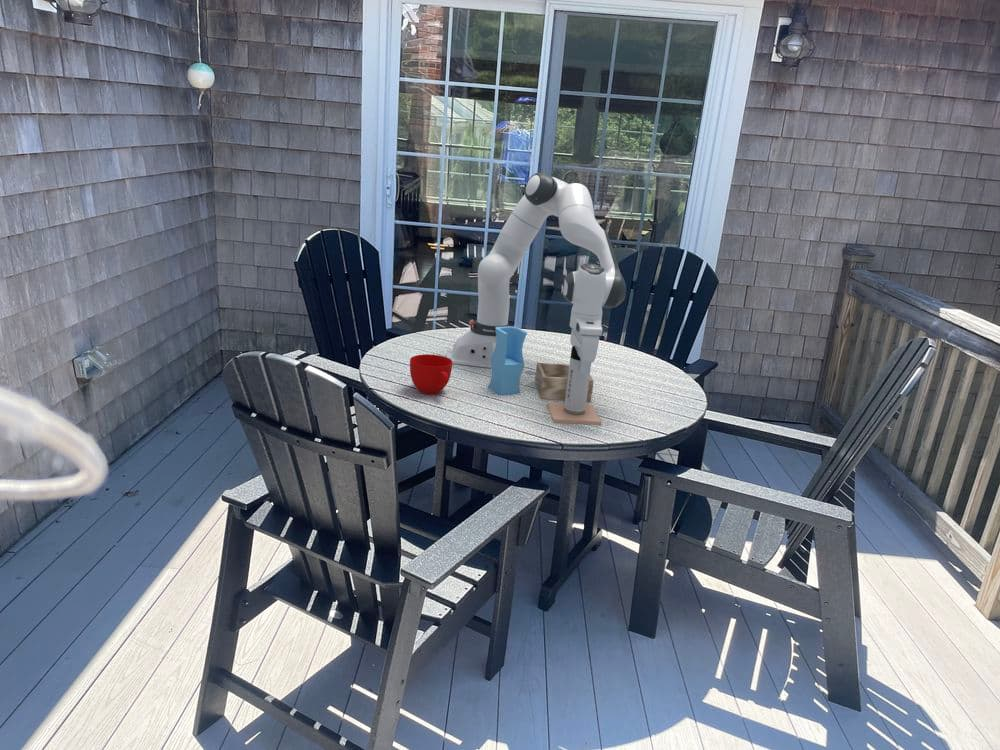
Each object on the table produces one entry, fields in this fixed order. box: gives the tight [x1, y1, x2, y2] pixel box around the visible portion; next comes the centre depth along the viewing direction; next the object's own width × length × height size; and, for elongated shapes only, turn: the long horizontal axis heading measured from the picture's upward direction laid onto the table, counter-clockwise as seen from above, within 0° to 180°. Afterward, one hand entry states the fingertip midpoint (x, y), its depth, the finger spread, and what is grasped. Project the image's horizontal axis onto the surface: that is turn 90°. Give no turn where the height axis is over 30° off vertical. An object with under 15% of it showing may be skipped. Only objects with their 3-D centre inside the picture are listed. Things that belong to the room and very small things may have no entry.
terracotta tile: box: [546, 402, 603, 426], centre depth 215 cm, size 14×14×1 cm
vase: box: [487, 325, 528, 396], centre depth 229 cm, size 8×8×20 cm
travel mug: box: [564, 346, 593, 415], centre depth 213 cm, size 6×7×20 cm
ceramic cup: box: [409, 353, 453, 396], centre depth 221 cm, size 13×17×10 cm
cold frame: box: [534, 361, 595, 402], centre depth 234 cm, size 16×16×7 cm
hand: (579, 368), depth 211 cm, fingers closed on travel mug, 6 cm apart
